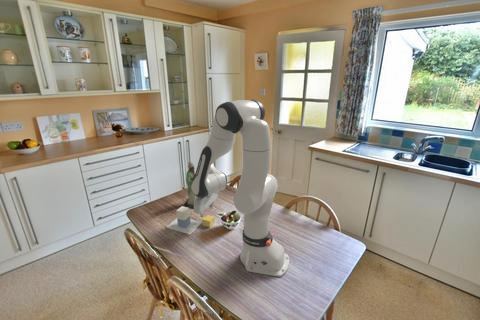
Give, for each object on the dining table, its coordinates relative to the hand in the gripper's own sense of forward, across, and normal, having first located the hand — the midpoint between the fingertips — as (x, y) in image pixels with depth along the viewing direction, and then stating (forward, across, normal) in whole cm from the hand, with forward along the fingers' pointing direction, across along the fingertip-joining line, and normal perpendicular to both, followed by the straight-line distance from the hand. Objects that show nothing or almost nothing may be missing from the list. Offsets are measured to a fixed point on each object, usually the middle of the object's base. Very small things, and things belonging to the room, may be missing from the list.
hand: (206, 212), depth 132 cm
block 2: (+8, -6, +11) cm, 15 cm away
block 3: (+8, 0, -1) cm, 8 cm away
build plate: (+8, -6, +11) cm, 15 cm away
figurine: (+9, +15, +20) cm, 26 cm away
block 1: (+3, -6, +11) cm, 13 cm away
